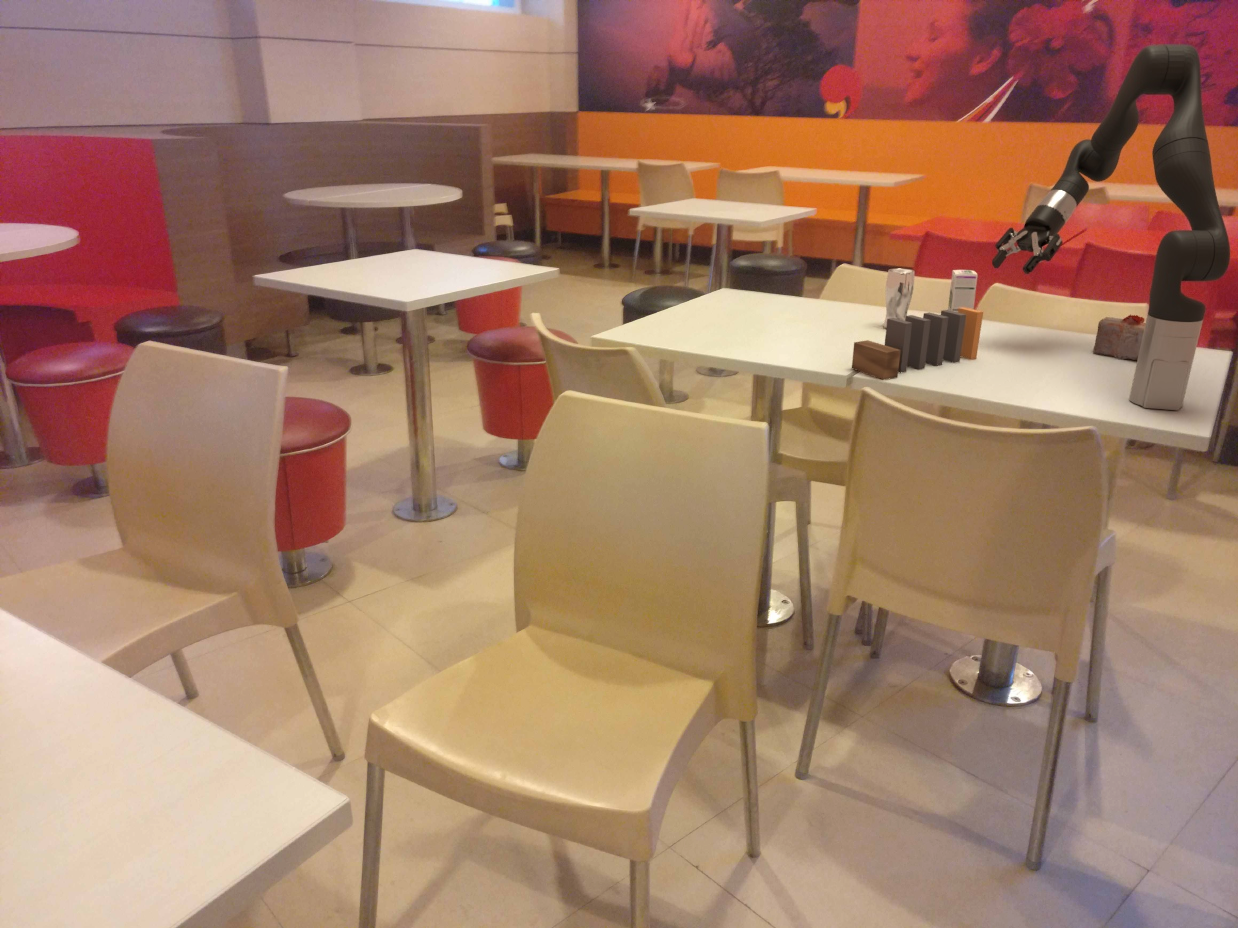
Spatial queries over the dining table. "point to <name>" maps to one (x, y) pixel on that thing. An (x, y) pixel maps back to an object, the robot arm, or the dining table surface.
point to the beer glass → (898, 293)
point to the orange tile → (971, 332)
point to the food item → (1120, 337)
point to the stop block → (876, 359)
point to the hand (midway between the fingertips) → (1009, 269)
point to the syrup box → (962, 289)
